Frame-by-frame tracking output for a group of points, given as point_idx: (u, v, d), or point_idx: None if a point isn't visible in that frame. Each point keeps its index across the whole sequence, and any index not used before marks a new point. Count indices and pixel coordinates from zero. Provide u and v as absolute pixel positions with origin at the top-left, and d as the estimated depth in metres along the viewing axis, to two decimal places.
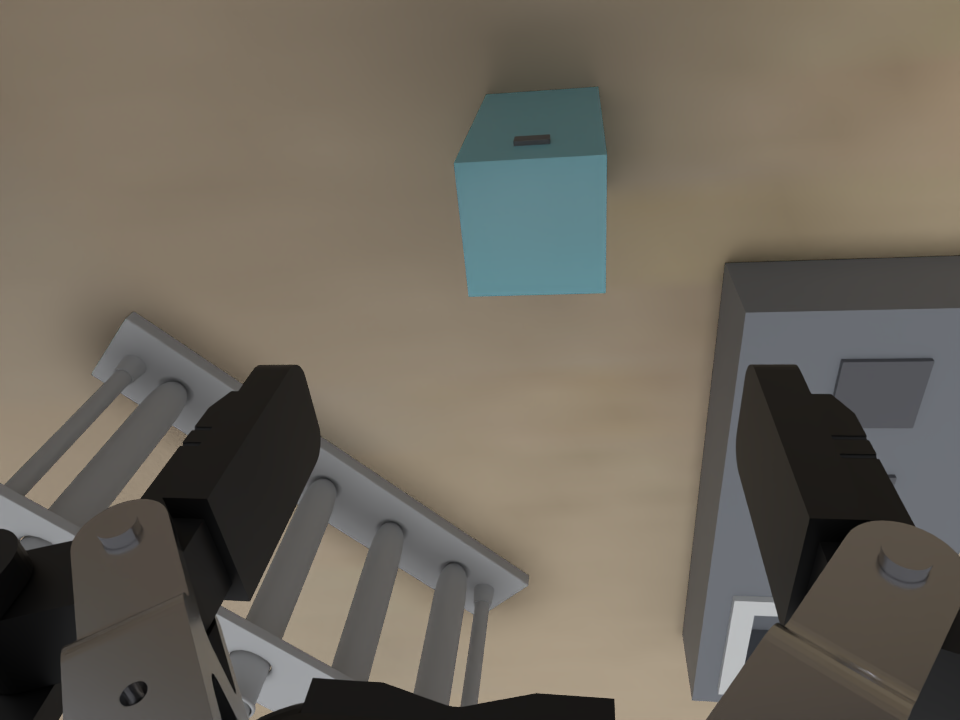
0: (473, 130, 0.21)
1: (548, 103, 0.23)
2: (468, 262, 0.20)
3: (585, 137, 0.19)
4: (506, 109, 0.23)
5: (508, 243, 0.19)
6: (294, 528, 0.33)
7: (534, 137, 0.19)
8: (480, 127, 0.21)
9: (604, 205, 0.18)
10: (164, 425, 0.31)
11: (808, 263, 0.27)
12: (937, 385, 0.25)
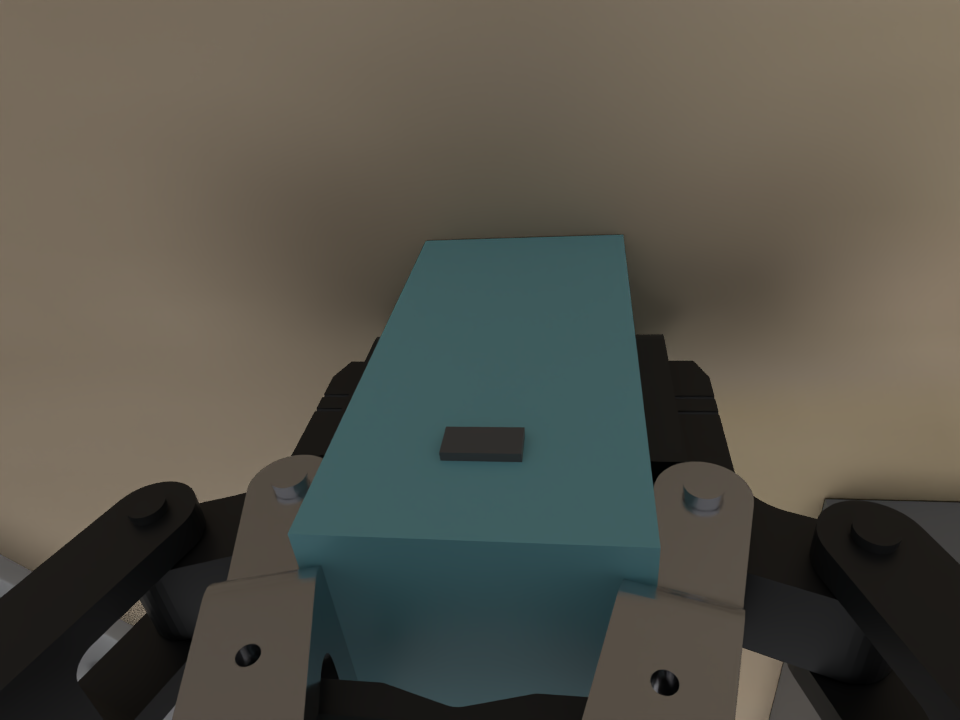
0: (372, 373, 0.10)
1: (531, 282, 0.12)
2: None
3: (604, 442, 0.08)
4: (451, 295, 0.12)
5: (429, 666, 0.09)
6: None
7: (488, 439, 0.08)
8: (389, 361, 0.10)
9: None
10: None
11: None
12: None
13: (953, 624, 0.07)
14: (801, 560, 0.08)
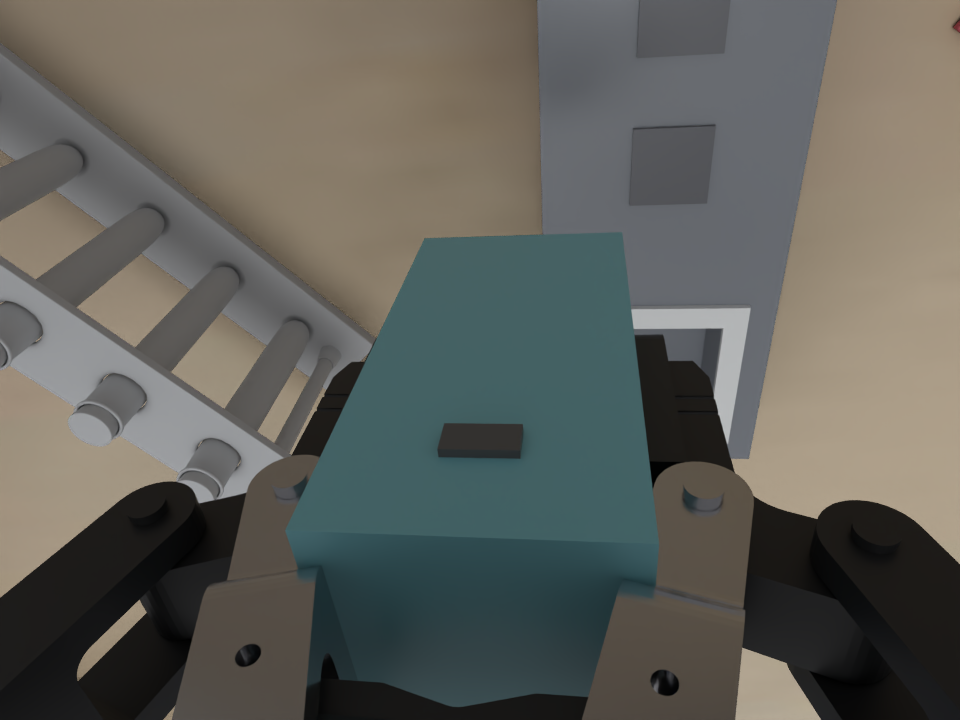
0: (370, 370, 0.10)
1: (530, 279, 0.12)
2: None
3: (603, 439, 0.08)
4: (450, 293, 0.12)
5: (428, 664, 0.09)
6: (102, 233, 0.31)
7: (486, 436, 0.08)
8: (387, 358, 0.10)
9: None
10: None
11: None
12: None
13: (953, 624, 0.07)
14: (801, 560, 0.08)
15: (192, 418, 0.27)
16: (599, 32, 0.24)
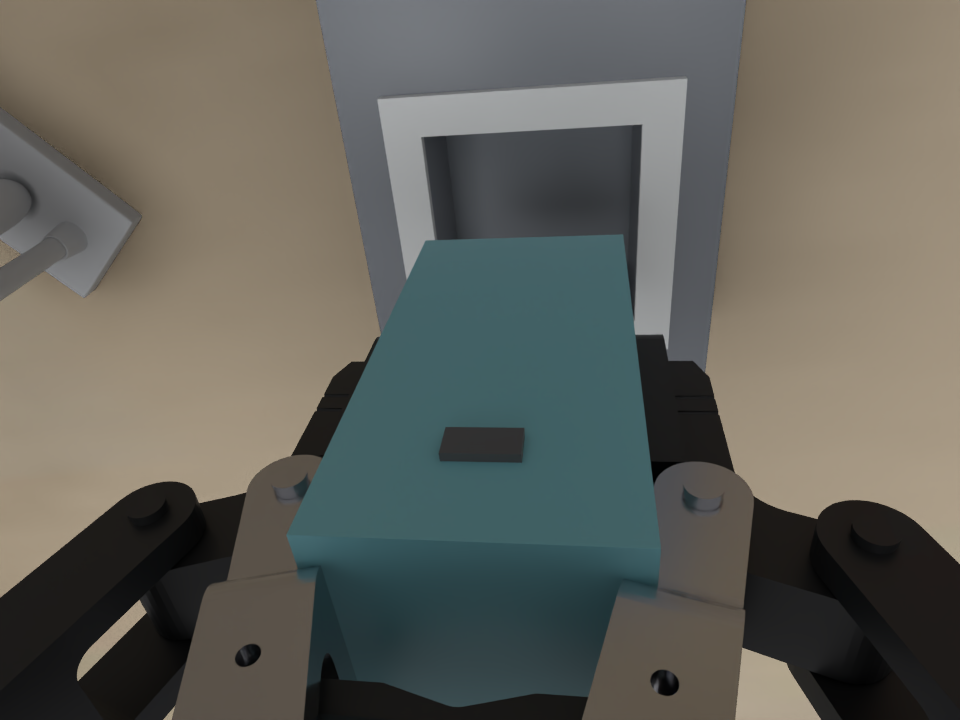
0: (371, 373, 0.10)
1: (531, 282, 0.12)
2: None
3: (604, 443, 0.08)
4: (451, 295, 0.12)
5: (428, 668, 0.09)
6: None
7: (487, 440, 0.08)
8: (388, 361, 0.10)
9: None
10: None
11: None
12: None
13: (953, 624, 0.07)
14: (801, 560, 0.08)
15: None
16: None
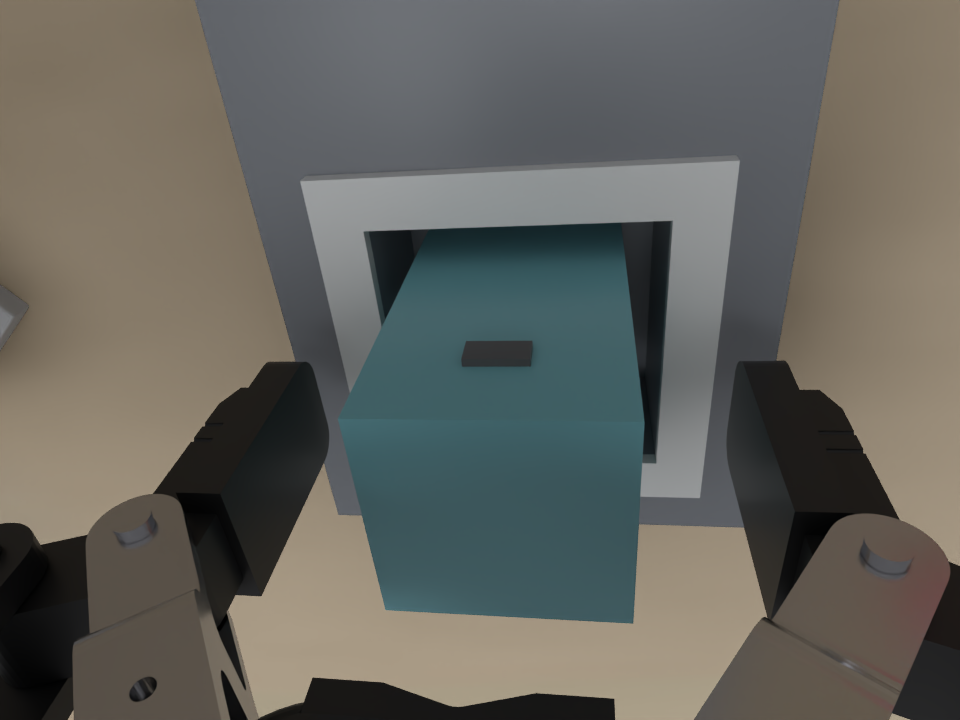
0: (399, 305, 0.12)
1: (536, 235, 0.14)
2: (380, 565, 0.11)
3: (599, 351, 0.10)
4: (466, 246, 0.14)
5: (452, 543, 0.10)
6: None
7: (502, 349, 0.10)
8: (413, 296, 0.12)
9: (636, 501, 0.09)
10: None
11: None
12: None
13: None
14: None
15: None
16: None
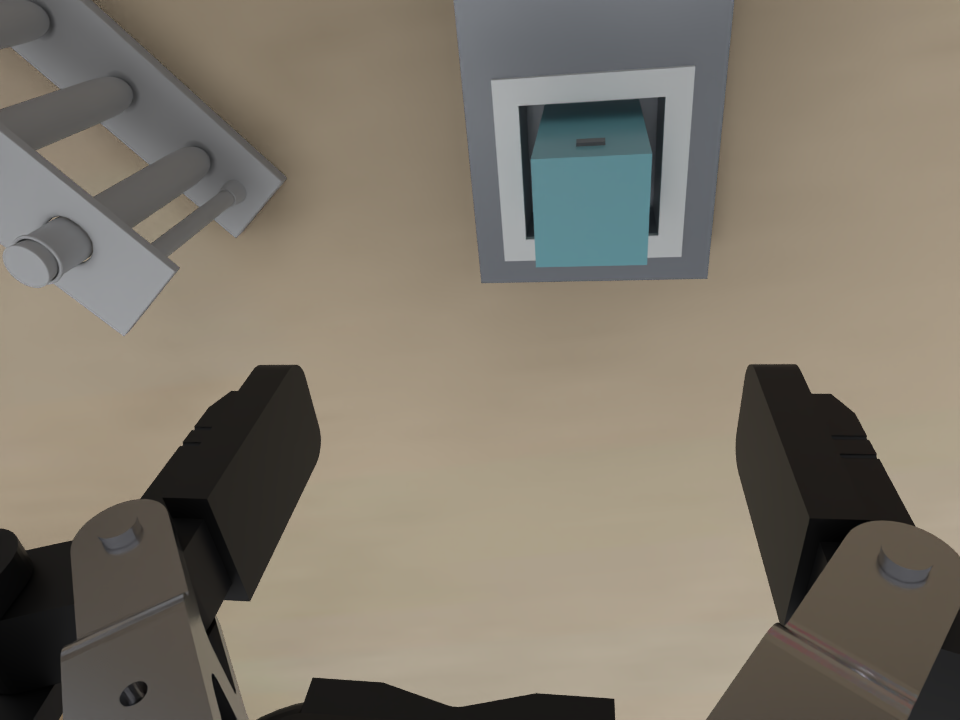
0: (540, 134, 0.26)
1: (598, 112, 0.28)
2: (537, 239, 0.25)
3: (633, 140, 0.24)
4: (564, 117, 0.28)
5: (570, 223, 0.24)
6: None
7: (592, 139, 0.24)
8: (545, 131, 0.26)
9: (648, 193, 0.23)
10: None
11: None
12: None
13: None
14: None
15: (33, 187, 0.24)
16: None
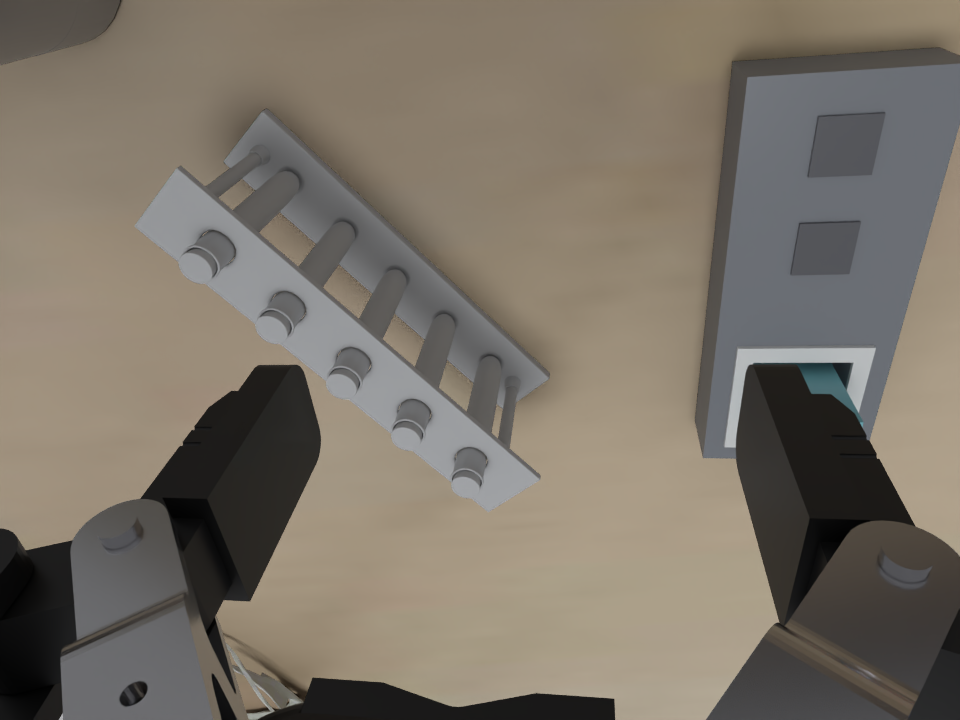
0: None
1: None
2: None
3: (843, 403, 0.38)
4: None
5: None
6: (379, 292, 0.42)
7: None
8: None
9: None
10: (287, 196, 0.40)
11: (795, 58, 0.35)
12: (889, 136, 0.33)
13: None
14: None
15: (461, 433, 0.38)
16: (782, 160, 0.35)
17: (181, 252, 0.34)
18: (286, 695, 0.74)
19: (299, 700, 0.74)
